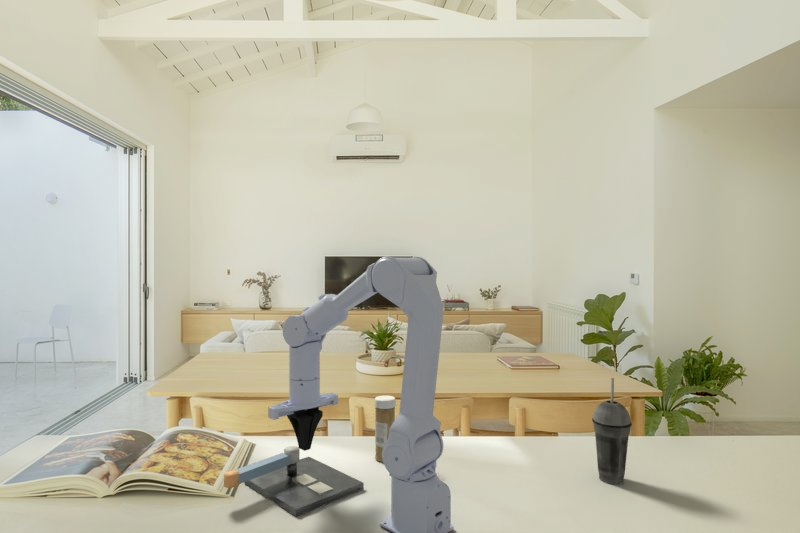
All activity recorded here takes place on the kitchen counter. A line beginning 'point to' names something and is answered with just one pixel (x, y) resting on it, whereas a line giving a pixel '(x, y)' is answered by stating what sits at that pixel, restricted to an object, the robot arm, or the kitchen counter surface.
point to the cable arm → (261, 467)
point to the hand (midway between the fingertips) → (304, 448)
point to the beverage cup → (611, 439)
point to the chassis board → (305, 485)
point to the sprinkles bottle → (383, 421)
